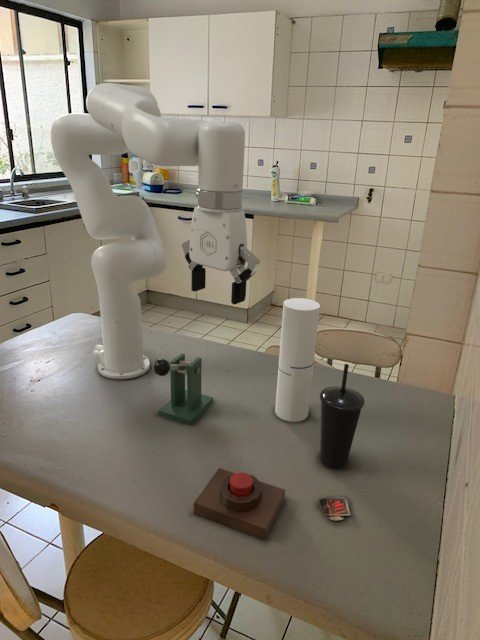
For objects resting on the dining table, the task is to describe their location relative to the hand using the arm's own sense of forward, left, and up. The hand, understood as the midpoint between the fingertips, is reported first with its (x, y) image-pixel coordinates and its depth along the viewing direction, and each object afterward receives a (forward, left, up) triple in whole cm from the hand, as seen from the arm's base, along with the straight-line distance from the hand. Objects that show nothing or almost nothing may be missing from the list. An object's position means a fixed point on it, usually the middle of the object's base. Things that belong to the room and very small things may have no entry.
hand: (217, 295), depth 85 cm
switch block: (+14, -19, -28) cm, 36 cm away
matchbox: (+28, -13, -28) cm, 41 cm away
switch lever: (-8, -3, -17) cm, 19 cm away
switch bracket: (-8, +2, -28) cm, 29 cm away
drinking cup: (+25, -1, -28) cm, 38 cm away
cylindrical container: (+13, +11, -28) cm, 33 cm away
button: (+14, -19, -24) cm, 34 cm away
